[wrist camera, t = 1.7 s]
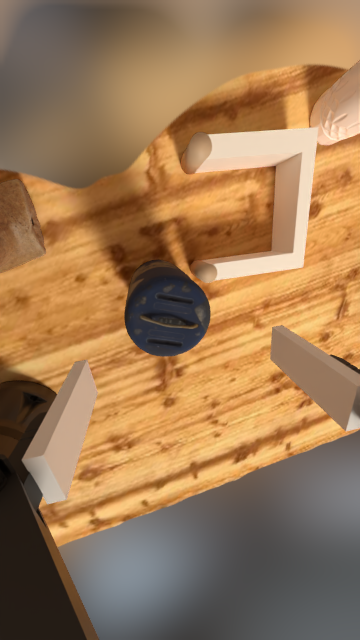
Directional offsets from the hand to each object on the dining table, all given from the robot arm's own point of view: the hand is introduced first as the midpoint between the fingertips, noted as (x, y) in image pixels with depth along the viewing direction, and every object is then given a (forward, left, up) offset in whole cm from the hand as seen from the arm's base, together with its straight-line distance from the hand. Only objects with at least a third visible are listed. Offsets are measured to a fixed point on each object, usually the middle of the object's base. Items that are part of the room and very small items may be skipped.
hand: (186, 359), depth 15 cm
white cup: (+30, +22, -25) cm, 45 cm away
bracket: (+14, +10, -25) cm, 30 cm away
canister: (0, 0, -25) cm, 25 cm away
